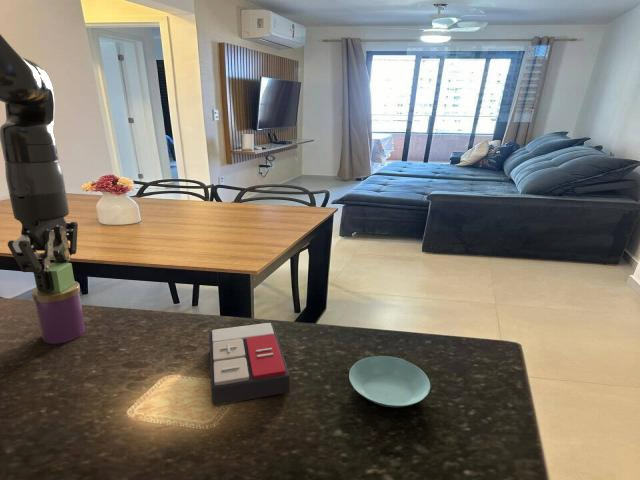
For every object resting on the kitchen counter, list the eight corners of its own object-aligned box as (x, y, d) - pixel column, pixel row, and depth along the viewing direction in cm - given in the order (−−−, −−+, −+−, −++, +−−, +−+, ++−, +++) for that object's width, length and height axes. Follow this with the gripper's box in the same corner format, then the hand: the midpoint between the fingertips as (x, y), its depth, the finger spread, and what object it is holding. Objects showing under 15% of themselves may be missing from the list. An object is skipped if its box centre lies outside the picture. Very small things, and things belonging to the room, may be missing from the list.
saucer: (342, 368, 62) (343, 356, 61) (413, 366, 63) (414, 353, 63) (356, 421, 51) (357, 407, 50) (441, 417, 52) (443, 403, 51)
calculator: (210, 384, 51) (208, 326, 65) (212, 410, 53) (210, 348, 66) (290, 371, 54) (272, 318, 68) (290, 395, 56) (273, 339, 69)
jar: (35, 335, 69) (25, 288, 67) (77, 321, 74) (70, 277, 72) (49, 349, 65) (39, 300, 62) (93, 333, 70) (85, 287, 68)
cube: (37, 292, 65) (32, 270, 64) (53, 283, 69) (49, 262, 68) (60, 292, 65) (56, 271, 64) (75, 283, 69) (71, 263, 68)
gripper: (45, 182, 69) (61, 271, 74) (-24, 195, 55) (1, 303, 60) (86, 183, 69) (99, 272, 74) (28, 197, 55) (49, 304, 60)
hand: (55, 285), depth 67 cm, fingers closed on cube, 4 cm apart
